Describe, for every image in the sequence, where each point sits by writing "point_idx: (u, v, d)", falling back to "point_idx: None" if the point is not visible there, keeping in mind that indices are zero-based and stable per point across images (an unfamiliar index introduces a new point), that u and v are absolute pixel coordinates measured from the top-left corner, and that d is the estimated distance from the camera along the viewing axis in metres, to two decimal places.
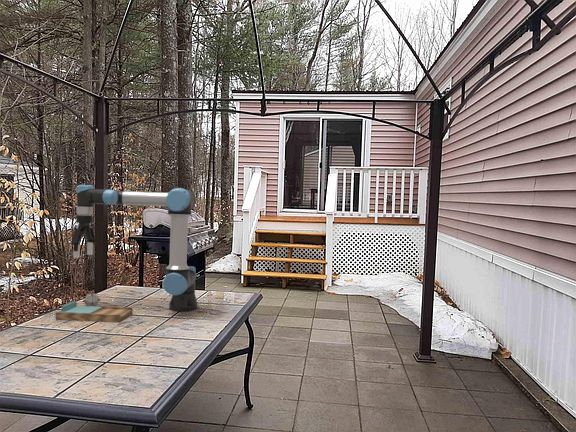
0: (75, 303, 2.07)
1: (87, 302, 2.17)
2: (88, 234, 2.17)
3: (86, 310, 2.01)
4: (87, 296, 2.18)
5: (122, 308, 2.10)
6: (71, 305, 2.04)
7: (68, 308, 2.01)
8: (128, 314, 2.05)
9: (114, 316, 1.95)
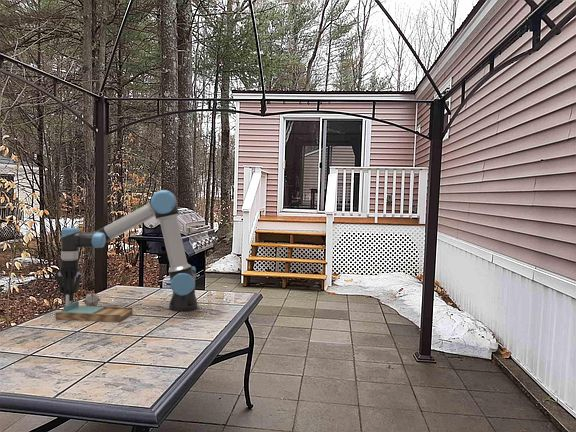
0: (77, 303, 2.07)
1: (87, 302, 2.17)
2: None
3: (88, 310, 2.01)
4: (87, 296, 2.18)
5: (122, 308, 2.10)
6: (73, 305, 2.04)
7: (70, 308, 2.01)
8: (128, 314, 2.05)
9: (114, 316, 1.95)
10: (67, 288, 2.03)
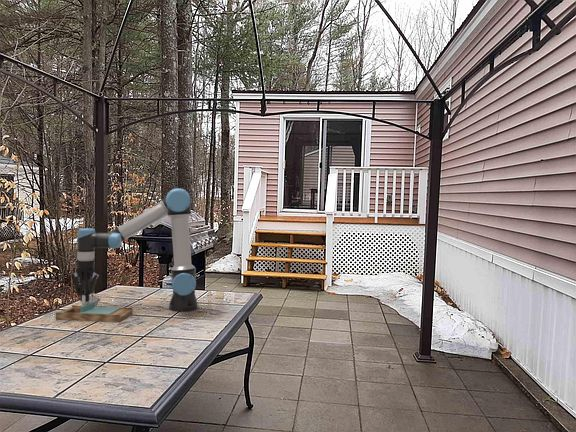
0: (93, 304, 2.07)
1: None
2: None
3: (104, 311, 2.01)
4: None
5: (122, 308, 2.10)
6: (89, 306, 2.04)
7: (86, 309, 2.01)
8: (128, 314, 2.05)
9: (114, 316, 1.95)
10: (83, 289, 2.03)
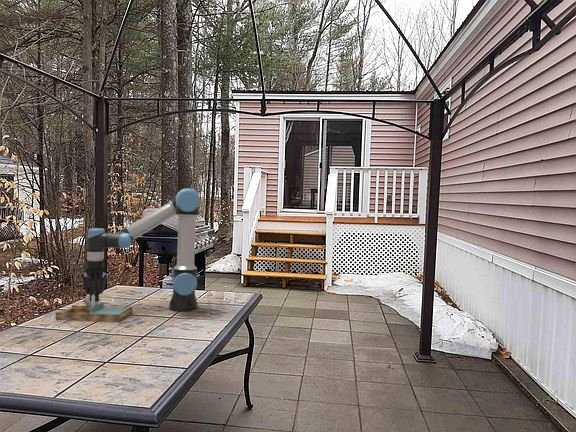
0: (102, 304, 2.07)
1: (87, 302, 2.17)
2: None
3: (114, 311, 2.01)
4: (87, 296, 2.18)
5: None
6: (99, 306, 2.03)
7: (96, 309, 2.01)
8: (128, 314, 2.05)
9: (114, 316, 1.95)
10: (93, 289, 2.03)
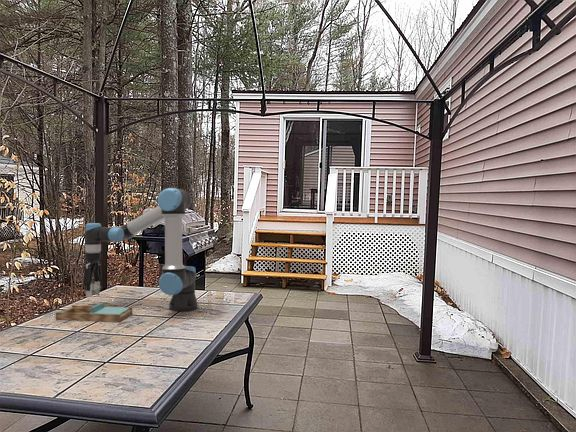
0: (103, 304, 2.07)
1: None
2: (96, 271, 2.22)
3: (115, 311, 2.01)
4: None
5: None
6: (99, 306, 2.03)
7: (97, 309, 2.01)
8: (128, 314, 2.05)
9: (114, 316, 1.95)
10: None
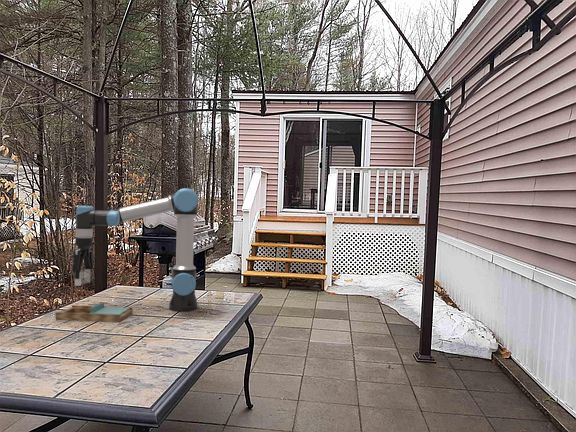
0: (103, 304, 2.07)
1: None
2: (86, 258, 2.05)
3: (115, 311, 2.01)
4: None
5: None
6: (99, 306, 2.03)
7: (97, 309, 2.01)
8: (128, 314, 2.05)
9: (114, 316, 1.95)
10: None
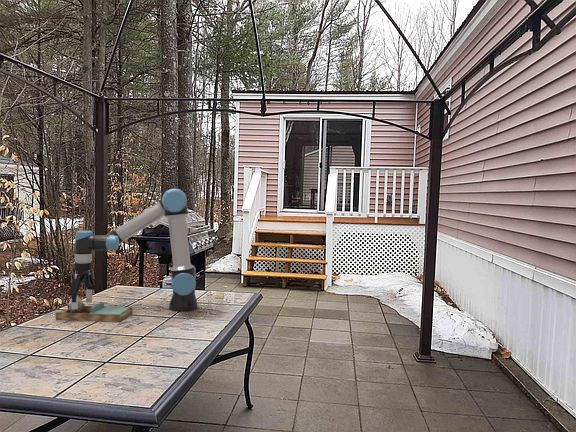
0: (103, 304, 2.07)
1: None
2: (87, 281, 2.07)
3: (115, 311, 2.01)
4: (68, 303, 2.04)
5: None
6: (99, 306, 2.03)
7: (97, 309, 2.01)
8: (128, 314, 2.05)
9: (114, 316, 1.95)
10: None
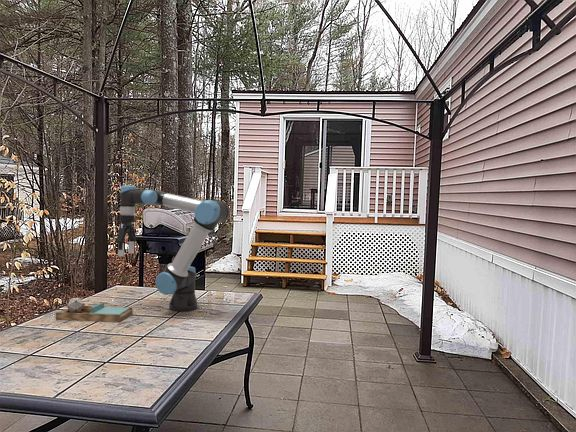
0: (103, 304, 2.07)
1: (71, 305, 2.02)
2: (130, 233, 2.24)
3: (115, 311, 2.01)
4: (68, 303, 2.04)
5: None
6: (99, 306, 2.03)
7: (97, 309, 2.01)
8: (128, 314, 2.05)
9: (114, 316, 1.95)
10: None
